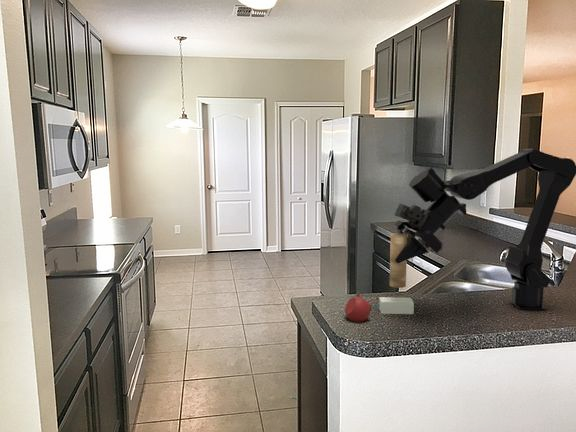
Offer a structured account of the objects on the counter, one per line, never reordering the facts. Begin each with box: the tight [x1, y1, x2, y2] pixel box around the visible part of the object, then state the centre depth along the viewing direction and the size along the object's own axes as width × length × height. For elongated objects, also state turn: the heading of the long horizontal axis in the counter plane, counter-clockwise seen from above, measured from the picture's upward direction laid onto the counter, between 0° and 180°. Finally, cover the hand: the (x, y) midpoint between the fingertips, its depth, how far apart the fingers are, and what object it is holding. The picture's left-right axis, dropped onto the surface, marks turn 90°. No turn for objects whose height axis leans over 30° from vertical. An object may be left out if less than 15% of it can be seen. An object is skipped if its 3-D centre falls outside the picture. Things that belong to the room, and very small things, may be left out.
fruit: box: [344, 296, 379, 323], centre depth 119 cm, size 6×6×8 cm
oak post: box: [389, 232, 408, 289], centre depth 122 cm, size 4×4×13 cm
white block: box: [378, 296, 415, 315], centre depth 124 cm, size 8×4×3 cm, turn 87°
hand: (393, 259), depth 122 cm, fingers closed on oak post, 4 cm apart
